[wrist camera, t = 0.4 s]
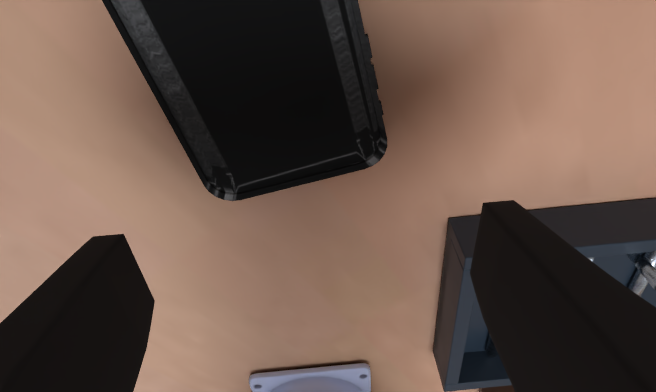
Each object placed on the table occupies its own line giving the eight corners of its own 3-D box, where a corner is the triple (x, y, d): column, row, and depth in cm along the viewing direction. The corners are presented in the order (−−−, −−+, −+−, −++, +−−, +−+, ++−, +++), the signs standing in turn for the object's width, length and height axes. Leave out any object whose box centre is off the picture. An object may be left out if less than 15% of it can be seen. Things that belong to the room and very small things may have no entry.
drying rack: (700, 325, 29) (751, 385, 26) (432, 351, 29) (450, 415, 26) (802, 183, 22) (890, 242, 19) (448, 217, 22) (475, 282, 19)
